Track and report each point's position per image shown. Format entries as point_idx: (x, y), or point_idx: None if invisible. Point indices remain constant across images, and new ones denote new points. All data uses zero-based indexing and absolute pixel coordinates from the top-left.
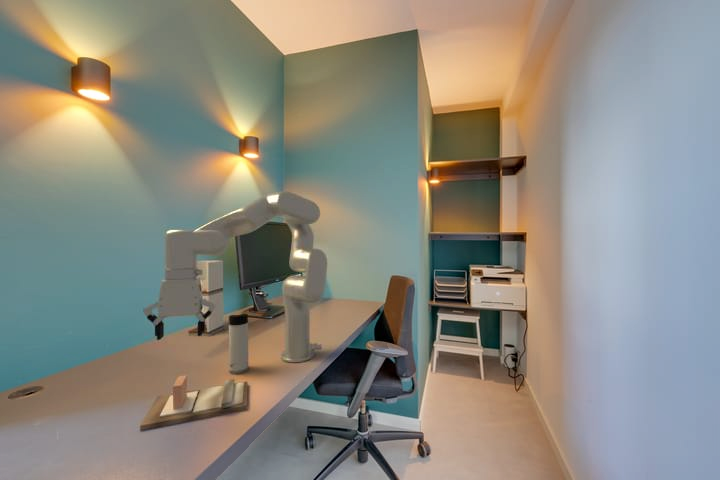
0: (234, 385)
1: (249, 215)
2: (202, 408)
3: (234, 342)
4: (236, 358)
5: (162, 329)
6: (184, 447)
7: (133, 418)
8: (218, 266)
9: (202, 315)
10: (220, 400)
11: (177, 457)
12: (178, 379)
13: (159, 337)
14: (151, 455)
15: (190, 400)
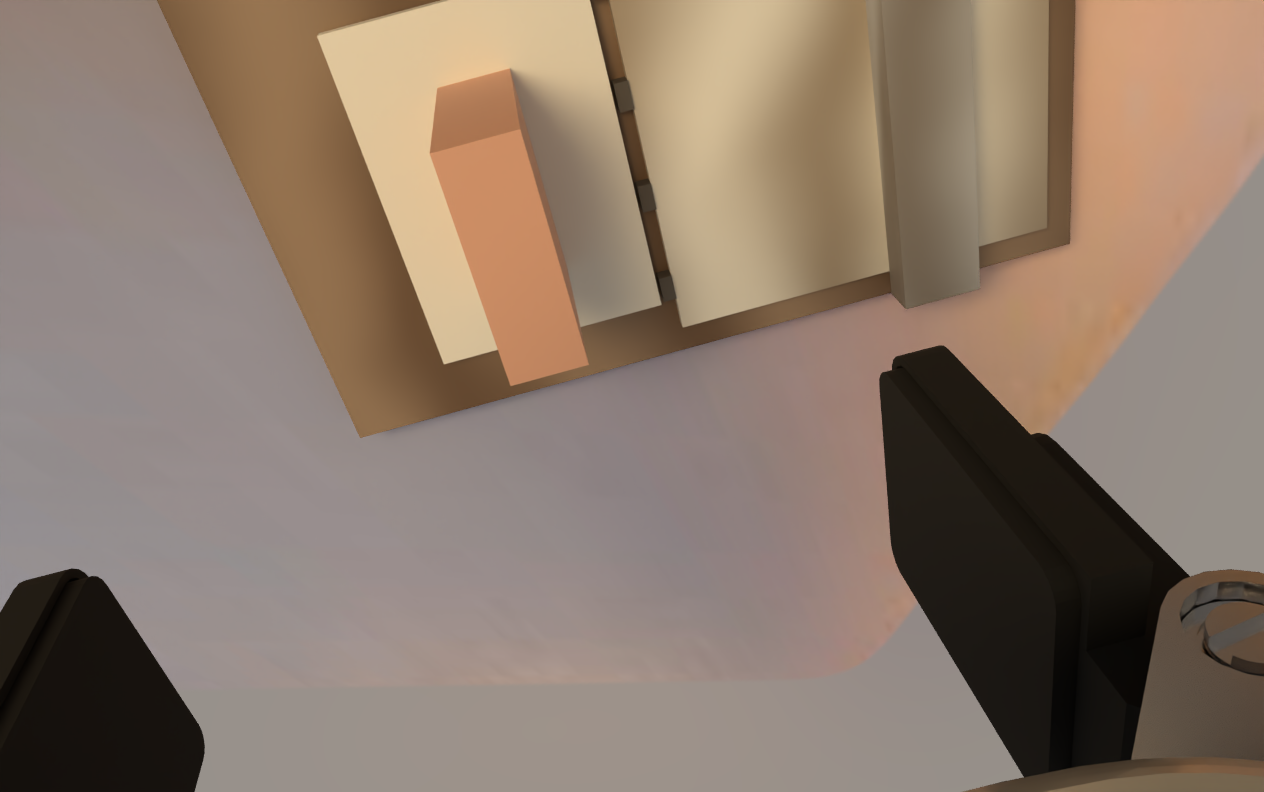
0: None
1: None
2: (743, 287)
3: None
4: None
5: (72, 788)
6: (737, 552)
7: (177, 276)
8: None
9: (1259, 749)
10: (861, 180)
11: (731, 608)
12: (480, 240)
13: (187, 782)
14: (589, 597)
15: (587, 157)
